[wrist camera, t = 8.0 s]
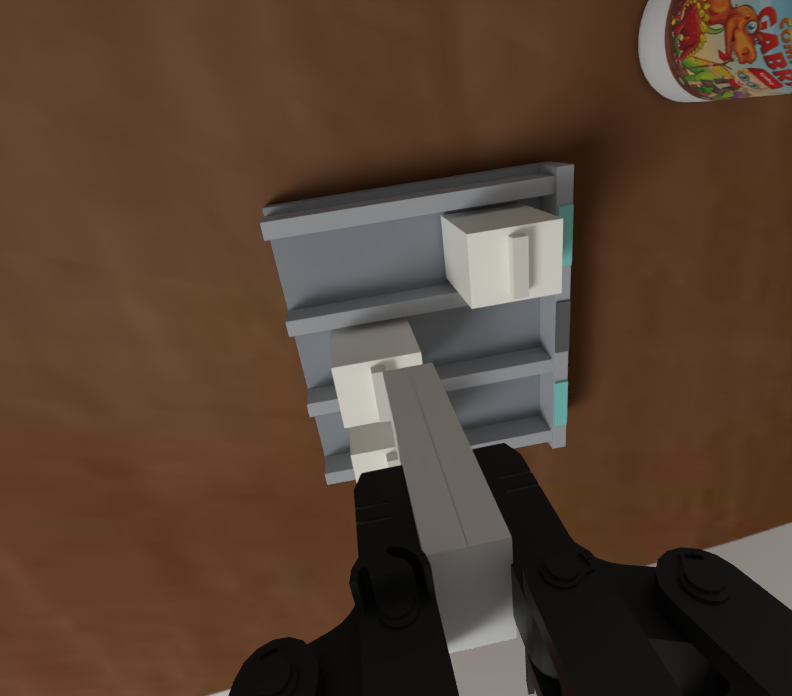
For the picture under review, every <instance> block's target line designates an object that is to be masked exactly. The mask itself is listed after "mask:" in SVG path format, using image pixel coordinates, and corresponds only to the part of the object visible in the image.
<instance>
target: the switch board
mask: <svg viewBox="0 0 792 696" xmlns="http://www.w3.org/2000/svg"><path fill="white" fill-rule="evenodd" d="M573 185H574V164H568V163H560V162H551V161H545V162H539V163H532V164H526V165H520V166H513V167H507V168H501V169H494V170H488V171H482V172H475V173H469V174H463V175H456V176H450V177H444V178H437V179H431V180H425V181H418V182H412V183H406V184H399V185H393V186H387V187H380V188H374V189H368V190H361V191H355V192H349V193H342V194H336V195H330V196H323V197H317V198H310V199H304V200H298V201H291V202H285V203H279V204H272V205H266V206H264V207H263V208H262V209H263V213H264V218H263V220H262V221H261V222H260V225H261V229H262V233H263V237H264V241H266V240H270V241H271V245H272V249H273V253H274V257H275V261H276V265H277V269H278V273H279V277H280V281H281V285H282V289H283V292H284V296H285V300H286V304H287V308H288V314H287V318H286V326H287V330H288V334H289V337H291V336H295V340H296V344H297V348H298V352H299V356H300V360H301V364H302V368H303V372H304V376H305V379H306V383H307V387H308V397H307V407H308V411H309V415H310V417H313V416H315V419H316V423H317V427H318V431H319V435H320V439H321V443H322V447H323V451H324V455H325V477H326V481H327V485H329V484H334V483H339V482H344V481H349V480H355V479H356V478H355V474H354V469H353V465H352V460H351V456H350V440H349V428H344V424H343V420H342V415H341V411H340V406H339V402H338V397H337V393H336V388H335V384H334V379H333V375H332V370H331V329H337V328H343V327H348V326H354V325H360V324H366V323H371V322H377V321H383V320H388V319H394V318H400V317H405V316H406V318H407V320H408V322H409V325H410V327H411V329H412V332H413V334H414V336H415V339H416V341H417V344H418V346H419V348H420V351H421V356H422V364H426V363H431V362H432V363H433V365H434V367H435V369H436V372H437V374H438V376H439V378H440V380H441V383H442V385H443V387H444V389H445V391H446V394H447V396H448V398H449V400H450V402H451V405H452V407H453V409H454V411H455V413H456V416H457V418H458V420H459V422H460V424H461V427H462V429H463V431H464V433H465V435H466V438H467V440H468V442H469V444H470V446H471V449H475V448H480V447H485V446H490V445H495V444H500V443H506V444H507V445H509V446H510V447H511V448H518V447H523V446H528V445H533V444H538V443H544V442H548V443H549V444H550V446H551V447H552V449H554V448H559V447H564V446H565V442H566V424H567V399H568V381H567V377H568V351H569V336H570V305H571V301H570V281H571V264H572V242H573V211H574V205H573ZM514 203H521V204H524V205H527V206H530V207H533V208H535V209H538V210H541V211H544V212H547V213H549V214H552V215H555V216H558V217H561V218H563V249H562V293H560V294H554V295H548V296H543V297H537V298H531V299H526V300H520V301H514V302H509V303H503V304H497V305H492V306H486V307H480V308H474V309H471V307H470V306H469V305H468V304H467V302H466V301H465V300H464V299H463V298H462V296H461V295H460V294H459V293H458V291H457V290H456V289H455V288H454V287H453V285H452V284H451V283H450V282H449V280H448V279H447V278H446V269H445V258H444V247H443V236H442V225H441V215H447V214H453V213H459V212H465V211H471V210H477V209H484V208H490V207H496V206H502V205H508V204H514Z"/></svg>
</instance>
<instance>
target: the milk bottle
mask: <svg viewBox="0 0 792 696" xmlns="http://www.w3.org/2000/svg"><path fill="white" fill-rule="evenodd" d="M638 55H639V60H640V66H641V68H642V70H643V73H644V76H645V78H646V79H647V80H648V82H649V83H650V85H651V86H652V87H653V88H654V89H655V90H656V91H657V92H658V93H660V94H661V95H662V96H664V97H666V98H668V99H670V100H673V101H678V102H702V101H713V100H725V99H736V98H747V97H758V96H769V95H779V94H789V93H792V0H649V1H648V3H647V5H646V7H645V9H644V12H643V16H642V19H641V22H640V28H639V35H638Z"/></svg>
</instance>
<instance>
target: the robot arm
mask: <svg viewBox="0 0 792 696" xmlns="http://www.w3.org/2000/svg"><path fill="white" fill-rule="evenodd" d="M382 373H383V378H384V384H385V389H386V395H387V401H388V406H389V412H390V417H391V423H392V429H393V434H394V440H395V445H396V450H397V455H398V459H399V464H400V465H399V466H394V467H389V468H384V469H379V470H374V471H369V472H364V473H361V475H360V477H359V480H358V482H357V484H356V486H355V489H354V499H355V510H356V511H355V513H356V524H357V526H356V527H357V541H358V555H359V558H358V559H357V561H356V563H355V564H354V566H353V567H352V569H351V575H350V581H349V584H350V588H351V591H352V595H353V599H354V602H355V606H354V608H353V610H352V611H351V613H350V614H349V615H348V617H347V618H346V619H345V620H344V621H343V622H342V623H341V624H340V625H338V626H337V627H335V628H334V629H333V630H331V631H330V632H328V633H326V634H324V635H323V636H321V637H319V638H318V639H316V640H314V641H312V642H311V643H309V644H306V643H305V642H304V641H303V640H299V639H295V638H291V637H286V638H281V639H275V640H272V641H270V642H269V643H267V644H265V645H263V646H262V647H260V648H258V649H257V650H256V651H255V652H254V653H253V654H252V655H251V656H250V657H249V658H248V659H247V660H246V661H245V662H244V664H243V665H242V667H241V669H240V671H239V673H238V674H237V676H236V678H235V680H234V682H233V685H232V688H231V690H230V693H229V696H459V693H458V689H457V685H456V680H455V676H454V672H453V668H452V664H451V659H450V655H449V653H453V652H457V651H462V650H466V649H471V648H475V647H479V646H484V645H488V644H493V643H497V642H501V641H505V640H510V639H514V638H517V637H516V625H517V627H518V629H519V632H520V635H521V638H522V640H523V643H524V645H525V657H526V681H527V688H528V694H534V688H535V691H536V694H537V696H792V610H790V609H789V608H788V607H786V606H785V605H784V604H783V603H781V602H780V601H779V600H777V599H776V598H775V597H774V596H772V595H771V594H770V593H768V592H767V591H766V590H765V589H763V588H762V587H761V586H760V585H758V584H757V583H756V582H754V581H753V580H752V579H751V578H749V577H748V576H747V575H745V574H744V573H743V572H742V571H740V570H739V569H738V568H736V567H735V566H734V565H732V564H731V563H729V562H727V561H726V560H724V559H722V558H720V557H719V556H717V555H715V554H712V553H709V552H706V551H703V550H700V549H695V548H677V549H673V550H669V551H667V552H666V553H664V554H663V555H662V556H661V557H660V558H659V559H658V562H657V567H648V566H635V565H623V564H616V563H611V562H607V561H604V560H601V559H598V558H596V557H594V555H593V554H592V553H591V552H590V551H589V550H587V549H585V548H583V547H582V546H580V545H578V544H577V543H575V542H574V541H573V539H572V538H571V537H570V535H569V534H568V532H567V530H566V529H565V527H564V525H563V524H562V522H561V520H560V519H559V517H558V515H557V514H556V512H555V510H554V509H553V507H552V505H551V504H550V502H549V500H548V499H547V497H546V495H545V494H544V492H543V490H542V489H541V487H540V486H539V485H538V482H537V480H536V479H535V477H534V475H533V474H532V473H531V472H530V469H529V467H528V465H527V464H526V462H525V460H524V459H523V457H522V455H521V454H520V453H518V452H517V451H516V450H514V449H513V448H511V447H510V446H509V445H507V444H506V443H500V444H495V445H490V446H485V447H480V448H475V449H471V446H470V444H469V442H468V440H467V438H466V435H465V433H464V431H463V429H462V427H461V424H460V422H459V420H458V418H457V416H456V413H455V411H454V409H453V407H452V405H451V402H450V400H449V398H448V396H447V394H446V391H445V389H444V387H443V385H442V383H441V380H440V378H439V376H438V374H437V372H436V369H435V367H434V365H433V363H432V362H431V363H426V364H421V365H415V366H410V367H405V368H400V369H394V370H389V371H384V372H382Z"/></svg>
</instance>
